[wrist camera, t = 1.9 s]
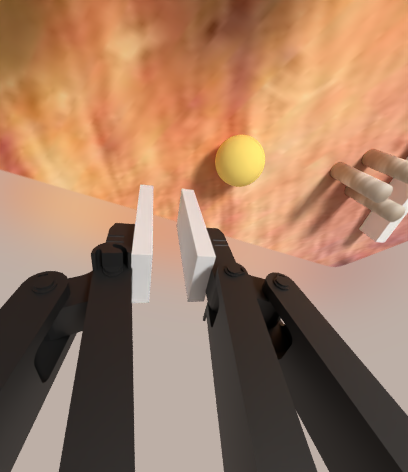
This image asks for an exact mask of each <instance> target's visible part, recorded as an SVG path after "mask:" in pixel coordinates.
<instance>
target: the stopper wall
mask: <svg viewBox="0 0 408 472" xmlns="http://www.w3.org/2000/svg"><path fill="white" fill-rule="evenodd" d="M405 160H407V161H408V156H407V158H406V159H405ZM389 185H391V186H392V187H393V191H392V193H391V195H390V196H389V197H388V199H390V200H392V201H394V202H396V203H398V204H400V205H401V206H403V207H405V209H406V210H405V213H404V215H403V216H402V217H401V218H400V219H399V220H397V221H395V222H389V221H387V220H386V219H384V218H382V217H381V216H379V215H378V214H376V213H374V212H373V211H371V212H370V213H369V215H368V216H367V218H366V219H365V221H364V222H363V224H362V225H361V227H360V228H359V230H360V231H362V232H363V233H364V234H366V235H367V236H368V237H370V238H371V239H372V240H374V241H375V242H385V241H386V240H387V238H388V237H389V236H390V235H391V233H392V232H393V231H394V229H395V228H396V227H397V225H398V224H399V223H400V222H401V220H402V219H403V218H404V216H405V215H406V214H407V212H408V184H407V183H404V182H402V181H400V180H397V179H395V178H393V179H392V180H391V182H390V183H389Z"/></svg>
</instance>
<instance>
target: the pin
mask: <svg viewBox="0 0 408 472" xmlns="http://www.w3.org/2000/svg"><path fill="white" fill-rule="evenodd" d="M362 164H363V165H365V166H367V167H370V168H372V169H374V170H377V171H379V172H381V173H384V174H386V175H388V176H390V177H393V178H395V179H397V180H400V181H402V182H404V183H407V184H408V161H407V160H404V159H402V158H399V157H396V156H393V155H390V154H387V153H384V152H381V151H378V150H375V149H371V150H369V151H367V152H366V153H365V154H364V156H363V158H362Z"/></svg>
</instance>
